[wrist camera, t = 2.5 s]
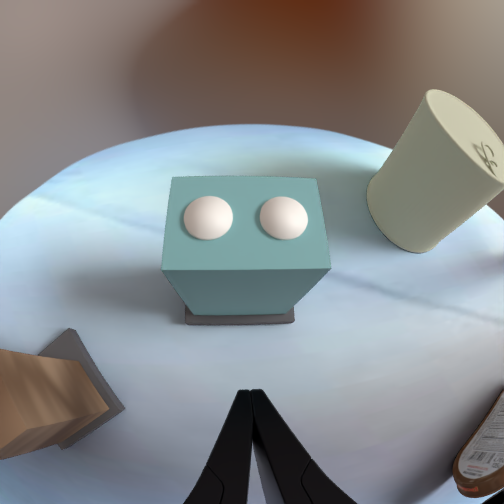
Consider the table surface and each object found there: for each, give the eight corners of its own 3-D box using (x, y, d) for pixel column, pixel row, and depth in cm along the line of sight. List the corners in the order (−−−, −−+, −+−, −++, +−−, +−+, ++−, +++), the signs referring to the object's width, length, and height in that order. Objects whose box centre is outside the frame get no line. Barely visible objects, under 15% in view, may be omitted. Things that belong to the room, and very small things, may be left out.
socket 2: (291, 323, 19) (294, 320, 18) (187, 324, 18) (185, 322, 17) (284, 232, 22) (286, 226, 21) (191, 233, 21) (189, 226, 20)
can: (372, 247, 22) (459, 156, 11) (359, 164, 25) (410, 69, 14) (448, 258, 22) (533, 195, 11) (429, 182, 26) (487, 110, 15)
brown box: (109, 408, 14) (24, 429, 6) (61, 442, 13) (-21, 464, 4) (78, 361, 15) (-13, 345, 7) (34, 397, 14) (-51, 395, 5)
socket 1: (125, 408, 15) (120, 410, 15) (68, 447, 13) (61, 449, 12) (75, 330, 17) (69, 328, 16) (25, 374, 15) (18, 373, 14)
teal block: (285, 313, 18) (332, 266, 10) (194, 315, 18) (160, 268, 9) (281, 257, 20) (317, 176, 11) (195, 258, 19) (171, 174, 11)
